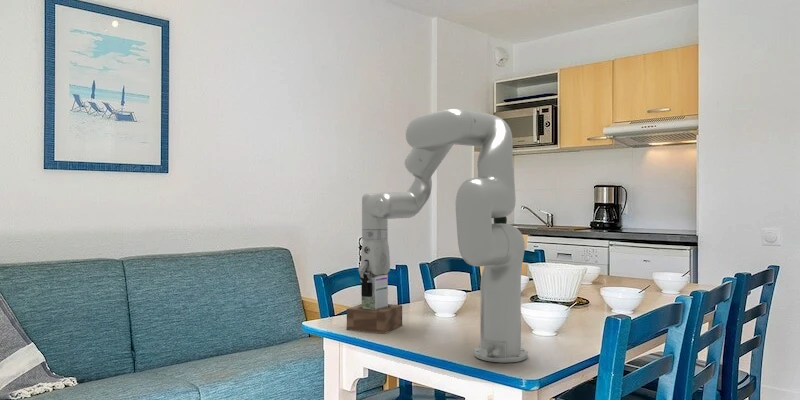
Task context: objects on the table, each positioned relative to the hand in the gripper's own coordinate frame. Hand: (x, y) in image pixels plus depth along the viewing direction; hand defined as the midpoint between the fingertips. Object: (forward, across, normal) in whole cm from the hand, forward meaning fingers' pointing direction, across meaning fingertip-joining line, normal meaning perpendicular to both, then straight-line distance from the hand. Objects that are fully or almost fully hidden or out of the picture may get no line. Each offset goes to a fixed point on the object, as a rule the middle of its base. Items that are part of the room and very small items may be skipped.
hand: (374, 294), depth 174 cm
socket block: (+10, 0, 0) cm, 10 cm away
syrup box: (+9, 0, 0) cm, 9 cm away
